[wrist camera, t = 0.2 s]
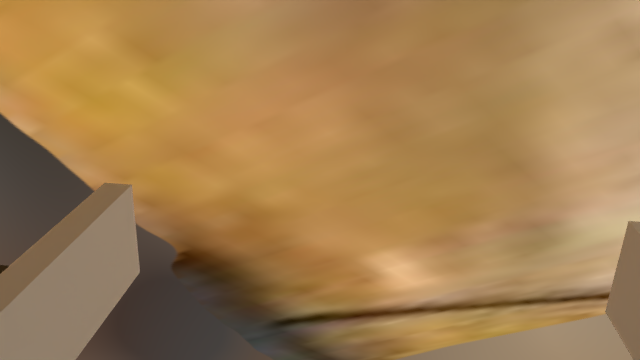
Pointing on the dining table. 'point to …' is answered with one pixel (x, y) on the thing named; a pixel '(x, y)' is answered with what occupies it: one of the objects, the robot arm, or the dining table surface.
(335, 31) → the dining table surface
